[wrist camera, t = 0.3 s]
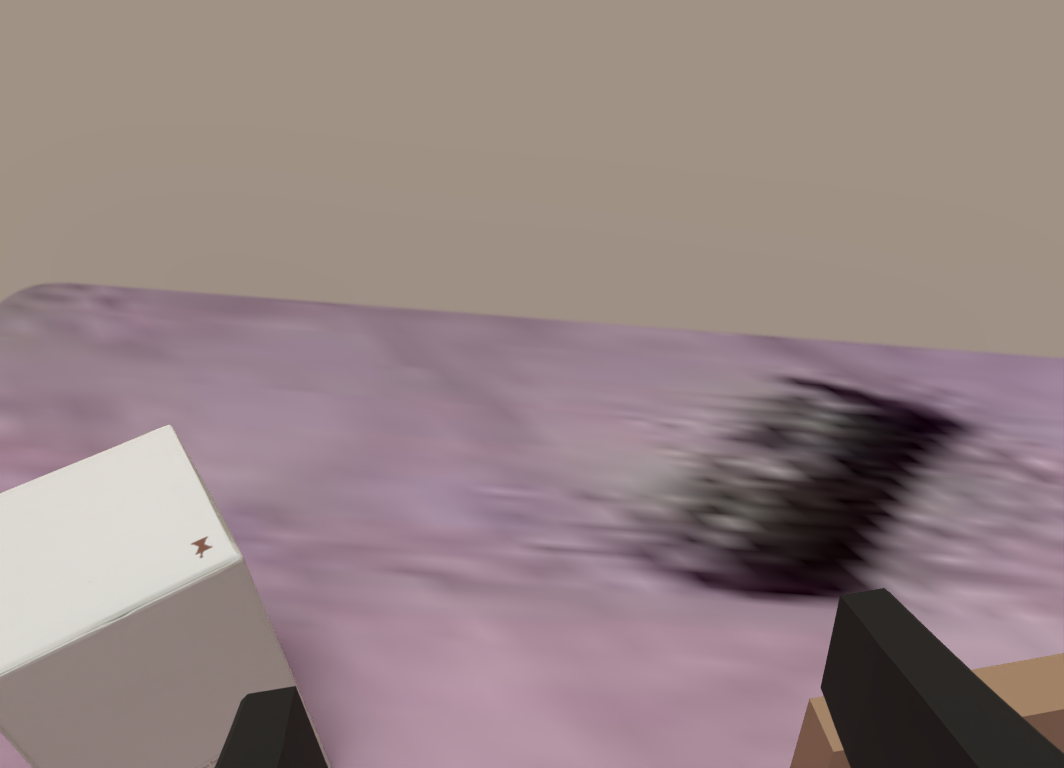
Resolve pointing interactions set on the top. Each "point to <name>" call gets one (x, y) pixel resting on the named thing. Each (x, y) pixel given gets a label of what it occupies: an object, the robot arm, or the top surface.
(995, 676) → the pusher lane
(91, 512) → the supplement box
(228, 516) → the top surface
